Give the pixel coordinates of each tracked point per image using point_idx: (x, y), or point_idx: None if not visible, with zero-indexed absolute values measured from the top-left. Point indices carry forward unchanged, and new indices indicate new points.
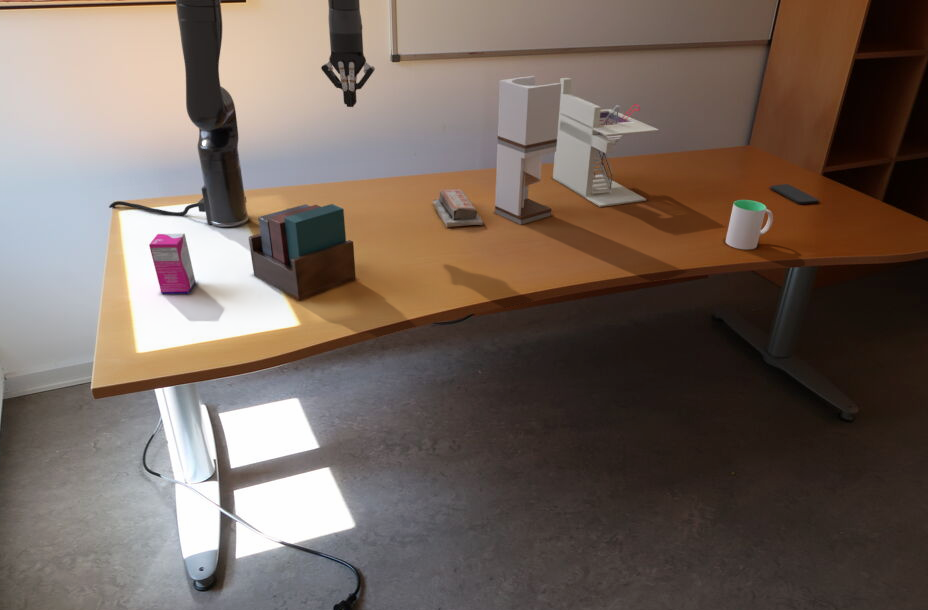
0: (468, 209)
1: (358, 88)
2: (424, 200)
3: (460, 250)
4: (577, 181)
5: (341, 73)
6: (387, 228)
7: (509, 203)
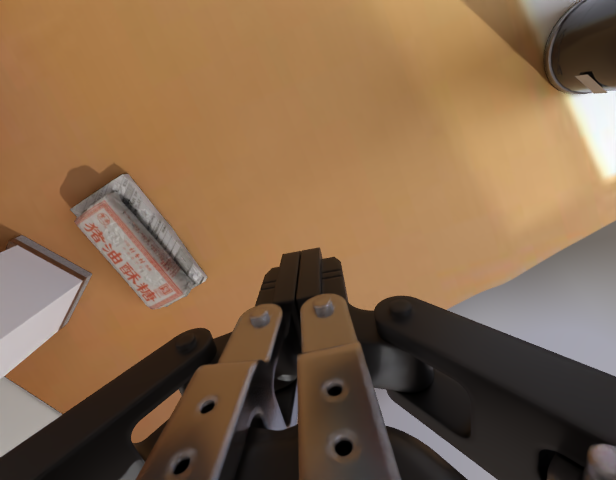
0: (82, 213)
1: (200, 330)
2: (234, 291)
3: (43, 62)
4: (8, 407)
5: (355, 419)
6: (235, 131)
7: (28, 266)
